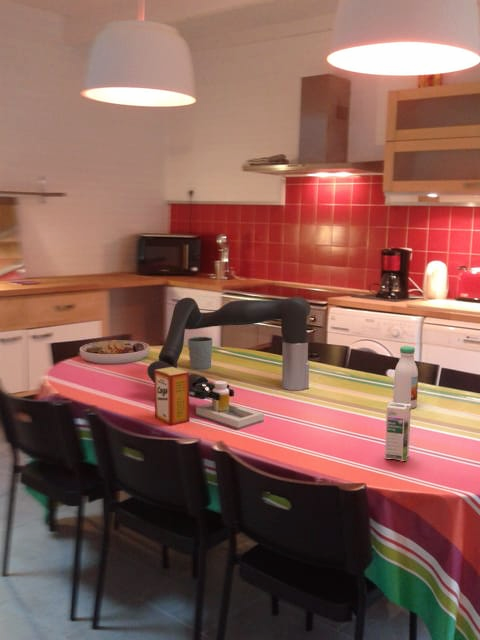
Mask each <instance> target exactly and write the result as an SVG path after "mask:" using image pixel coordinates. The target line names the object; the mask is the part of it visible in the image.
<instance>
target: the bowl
mask: <svg viewBox="0 0 480 640" xmlns="http://www.w3.org/2000/svg"><path fill="white" fill-rule="evenodd" d="M79 353H80V356H81V357H82V358H83V359H84V360H85V361H86V362H89V363H92V364H93V363H94V364H99V365H123V364H130V363H135V362H138V361H141V360H143V359H144V358H146V357H147V356H148V355H149V353H150V345H149V344H148V343H145V342H142V341H137V340H136V341H135V340H125V339H124V340H121V339H120V340H118V339H112V340H102V341H94V342H91V343H86V344H84V345H82V346H80V347H79Z"/></svg>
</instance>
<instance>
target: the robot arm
mask: <svg viewBox="0 0 480 640" xmlns="http://www.w3.org/2000/svg"><path fill="white" fill-rule="evenodd" d="M311 311H312V310H311V305H310V302H309V301H308V300H307V299H305V298H303V297H301V296H293V297H289V298H281V299H275V300H272V299H271V300H269V299H268V300H266V299H243V300H241V299H240V300H232V301H229V302H226V303H225V304H224V305H222V306H221V307H220V308H218V309H216V310H215V311H210V312H209V311H208V312H202V311H201V310H200V308H199V304H198V303H197V301H196V299H194V298H192V297H184V298H180V299H179V300H178V301H177V302H176V303H175V305H174V307H173V311H172V312H173V313H172V317H171V321H170V324H169V329H168V332H167V335H166V338H165V340H164V343H163V345H162V347H161V350H160V352H159V355H158V360H156V361H153V362H151V363H150V364H149V365H148V367H147V371H146V373H147V375H148V377H149V378H150V380H151V381H152V382H153V383H154V384H155V380H154V370H156V369H162V368H168V367H174V368H177V369H178V361H179V359H180V357H181V354H182V352H183V349H184V348H183V347H184V343H185V333H186V330H199V329H205V328H211V327H223V326H225V327H227V326H249V325H255V324H261V323H265V322H269V321H275V320H276V321H278V320H280V323H281V324H280V325H281V329H280V330H281V336H282V354H281V355H282V357H281V358H282V360H281V362H282V363H281V365H282V366H281V367H282V368H281V369H282V370H281V387H282V389H285V390H288V391H304V390H306V389H307V390H308V389H309V387H310V385H309V384H310V363H309V362H308V360H309V356H308V355H309V335H308V330H307V329H308V328H307V326H308V323H307V322H308V321H307V320H308V317H309V316H310V313H311ZM187 372H188V373H189V398H195V399H199V400H205V399H208V400H209V399H211V400H212V399H214V400H220V394H219V393H217V392H213V391H212V390H213V389H214V388H215V386H214V383H215V382H212V381H208V378H207V377H206V376H204V375H200V374H197V373H193V372H189V371H187ZM226 388H227V389H228V390H229V397H231V398H233V397H235V390H234V389H233V388H232V389H231V387H230V384H228V383H227V387H226Z"/></svg>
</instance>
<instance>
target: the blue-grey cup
mask: <svg viewBox="0 0 480 640" xmlns="http://www.w3.org/2000/svg"><path fill="white" fill-rule="evenodd" d="M187 347H188V351H189V353H188V355H189V365H190V366H189V367H190V369H192V370H196V371H197V370H198V371H205V370H209V369H211V367H212V357H213V356H212V355H213V354H212V353H213V352H212V349H213V338H212V337H210V336H193V337H189V338H187Z"/></svg>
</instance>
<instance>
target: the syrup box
mask: <svg viewBox="0 0 480 640" xmlns="http://www.w3.org/2000/svg"><path fill="white" fill-rule="evenodd" d="M411 409H412V408H411V404H403V403H393V401H391V402H389V403H388V404H387V407H386V415H385V416H386V418H385V419H386V420H385V445H384V448H385V449H384V458H385V457H386V458H391V459H397V460H404V461H406V460H407V461H408V458H407V457H409V455H408V454H410V453H409V452H410V437H411V433H410V432H411V413H412V410H411ZM407 461H406V462H407Z"/></svg>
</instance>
